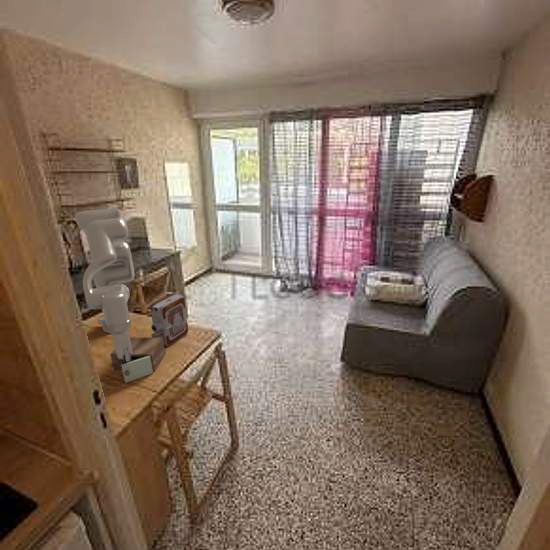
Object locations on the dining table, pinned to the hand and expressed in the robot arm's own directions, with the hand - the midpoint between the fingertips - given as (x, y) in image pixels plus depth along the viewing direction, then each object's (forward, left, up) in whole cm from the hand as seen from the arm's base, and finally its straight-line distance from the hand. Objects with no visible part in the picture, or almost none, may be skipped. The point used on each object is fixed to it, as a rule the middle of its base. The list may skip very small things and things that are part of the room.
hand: (128, 368), depth 123 cm
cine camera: (+7, +25, -4) cm, 26 cm away
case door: (+4, -1, -3) cm, 6 cm away
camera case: (+1, +9, -4) cm, 9 cm away
